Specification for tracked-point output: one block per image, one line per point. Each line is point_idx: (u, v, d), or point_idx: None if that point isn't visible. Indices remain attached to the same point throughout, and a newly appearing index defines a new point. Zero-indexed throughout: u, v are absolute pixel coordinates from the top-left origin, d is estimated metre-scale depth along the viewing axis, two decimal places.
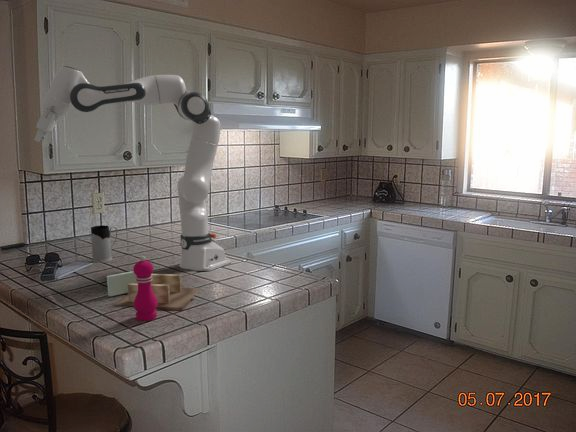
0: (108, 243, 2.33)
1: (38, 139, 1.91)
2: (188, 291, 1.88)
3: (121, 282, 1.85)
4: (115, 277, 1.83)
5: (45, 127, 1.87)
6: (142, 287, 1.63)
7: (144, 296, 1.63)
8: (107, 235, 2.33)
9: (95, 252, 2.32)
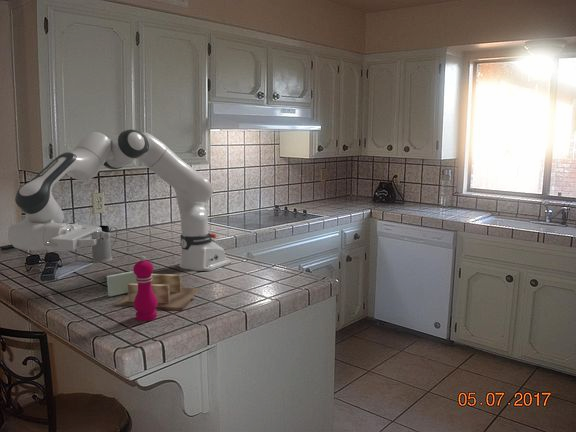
0: (108, 243, 2.33)
1: (91, 241, 1.58)
2: (188, 291, 1.88)
3: (121, 282, 1.85)
4: (115, 277, 1.83)
5: (66, 241, 1.54)
6: (142, 287, 1.63)
7: (144, 296, 1.63)
8: None
9: (95, 252, 2.32)
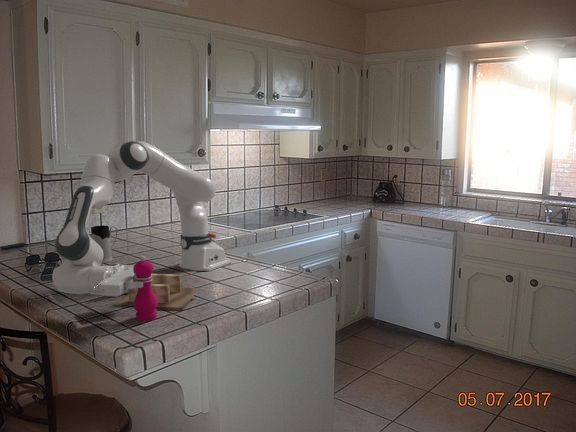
0: (108, 243, 2.33)
1: (139, 283, 1.60)
2: (188, 291, 1.88)
3: None
4: None
5: (113, 287, 1.55)
6: (142, 287, 1.63)
7: (144, 296, 1.63)
8: (107, 235, 2.33)
9: None
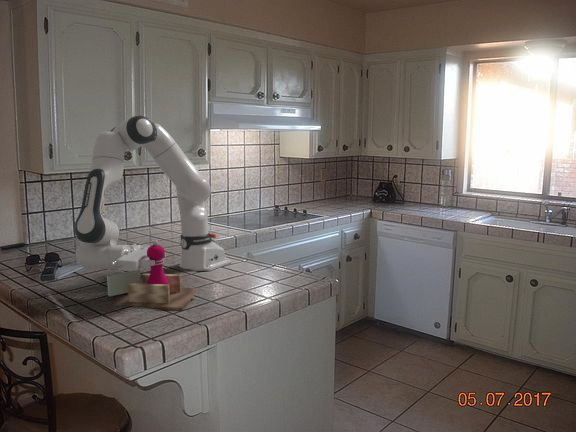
0: None
1: (151, 261, 1.76)
2: (188, 291, 1.88)
3: (121, 282, 1.85)
4: (115, 277, 1.83)
5: (130, 262, 1.72)
6: (155, 269, 1.78)
7: (157, 277, 1.78)
8: None
9: None
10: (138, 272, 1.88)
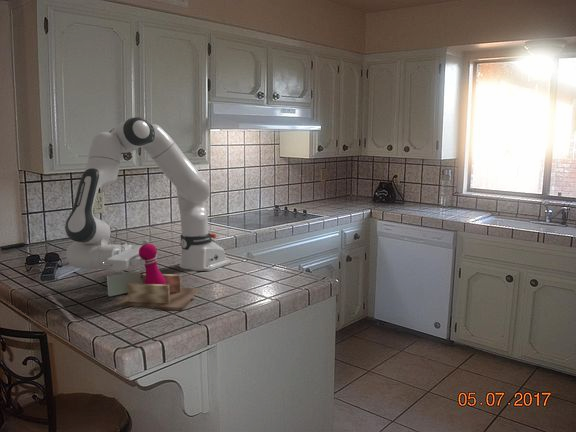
0: None
1: (142, 261, 1.76)
2: (188, 291, 1.88)
3: (121, 282, 1.85)
4: (115, 277, 1.83)
5: (120, 262, 1.72)
6: (149, 268, 1.78)
7: (152, 275, 1.78)
8: None
9: None
10: (138, 272, 1.88)
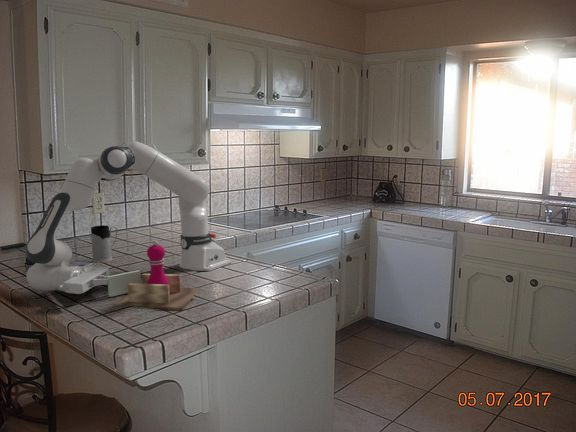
0: (108, 243, 2.33)
1: (104, 281, 1.82)
2: (188, 291, 1.88)
3: (121, 282, 1.85)
4: (116, 277, 1.83)
5: (76, 285, 1.75)
6: (155, 269, 1.78)
7: (157, 277, 1.78)
8: (107, 235, 2.33)
9: (95, 252, 2.32)
10: (138, 272, 1.88)
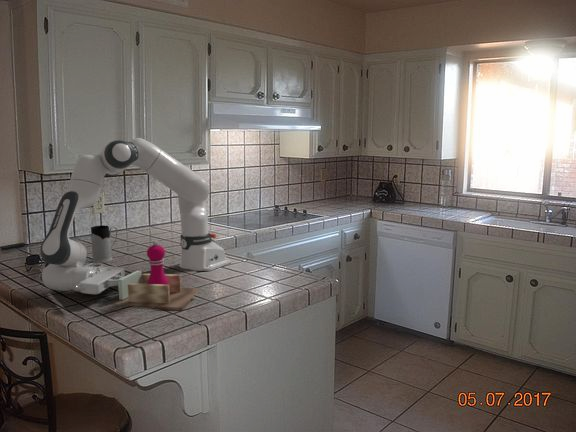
0: (108, 243, 2.33)
1: None
2: (188, 291, 1.88)
3: None
4: (126, 279, 1.80)
5: (93, 286, 1.74)
6: (155, 269, 1.78)
7: (157, 277, 1.78)
8: (107, 235, 2.33)
9: (95, 252, 2.32)
10: (140, 272, 1.88)
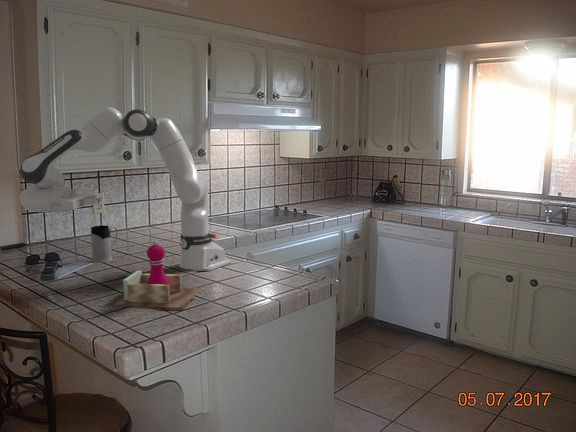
0: (108, 243, 2.33)
1: (93, 200, 1.93)
2: (188, 291, 1.88)
3: None
4: (130, 279, 1.80)
5: (67, 201, 1.86)
6: (155, 269, 1.78)
7: (157, 277, 1.78)
8: (107, 235, 2.33)
9: (95, 252, 2.32)
10: (140, 272, 1.88)
